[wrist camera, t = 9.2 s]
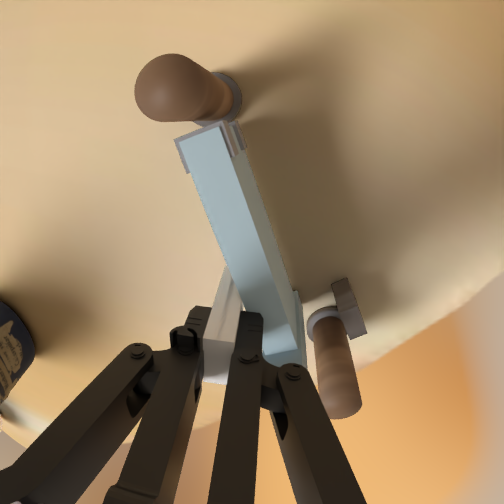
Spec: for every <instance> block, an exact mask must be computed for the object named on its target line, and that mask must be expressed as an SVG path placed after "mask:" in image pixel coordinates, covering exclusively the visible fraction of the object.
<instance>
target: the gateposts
mask: <svg viewBox="0 0 504 504" xmlns="http://www.w3.org/2000/svg"><path fill="white" fill-rule="evenodd" d="M135 99H136V103H137V105H138V107H139V109H140V110H141V111H142V113H143V114H145V115H146V116H147V117H149V118H150V119H152V120H155V121H160V122H177V121H193V122H195V123H196V124H198V125H200V126H203V127H206V126H208V125H211V124H214V123H216V122H219V121H222V120H227V122H228V123H229V122H230V121H232V120H233V119H234V118H235V117H236V115H237V114H238V112H239V110H240V108H241V104H242V95H241V91H240V89H239V87H238V85H237V84H236V83H235V82H234V81H233V80H232V79H231V78H230V77H228V76H226V75H224V74H221V73H214V72H212V73H211V72H209V71H208V70H206V69H205V68H203V67H202V66H200V65H199V64H197V63H195V62H194V61H192V60H191V59H189V58H187V57H186V56H183V55H179V54H165V55H161V56H159V57H156V58H155V59H153V60H151V61H150V62H149V63H148V64H147V65H145V67H144V68H143V69H142V70H141V72H140V73H139V75H138V77H137V80H136V84H135ZM331 285H332V289H333V292H334V296H335V300H336V304H337V308H335V307H325V308H321V309H319V310H317V311H315V312H314V313H313V314H312V315H311V316H310V317H309V319H308V321H307V334H308V337H309V338H310V339H311V340H312V341H313V342H314V350H315V359H316V369H317V379H318V389H319V396H320V399H321V401H322V403H323V405H324V408H325V410H326V412H327V414H328V417H329V419H343V418H347V417H350V416H352V415H354V414H355V413H356V412H358V411H359V410H360V408H361V406H362V400H361V396H360V391H359V387H358V382H357V377H356V373H355V368H354V364H353V360H352V355H351V351H350V347H349V343H348V339H347V334H348V336H349V338H350V340H352V339H354V338H357V337H359V336H362V335H364V334H367V331H366V328H365V325H364V322H363V319H362V316H361V313H360V311H359V308H358V305H357V302H356V300H355V297H354V294H353V292H352V289H351V286H350V284H349V281H348V279H347V278H345V279H343V280H341V281H338V282H336V283H333V284H331Z"/></svg>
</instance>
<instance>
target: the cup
mask: <svg viewBox="0 0 504 504" xmlns="http://www.w3.org/2000/svg"><path fill="white" fill-rule="evenodd" d="M2 424H3V423H2V418H1V414H0V433H1V430H2Z"/></svg>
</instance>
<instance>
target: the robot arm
mask: <svg viewBox="0 0 504 504" xmlns="http://www.w3.org/2000/svg"><path fill="white" fill-rule="evenodd" d="M243 307H244V304H243V302H242V300H241V297H240V295H239V292H238V290H237V288H236V285H235V283H234V280H233V278H232V276H231V273H230V271H229V268H228V266H225V268H224V272H223V275H222V278H221V281H220V284H219V287H218V290H217V294H216V297H215V300H214V303H213V306H212V308H210V307H202V306H195V307H194V308H193V309H192V310H190V312H189V315H188V317H187V320H186V322H185V325H184V326H179V327H176V328H174V329H172V330H171V332H170V343H171V348H170V349H167V350H162V351H152V349H151V348H150V346H148V345H146V344H143V343H134V344H130V345H129V346H127V347H126V348H125V349H124V350H123V351H122V352H121V353H120V354H119V355H118V356H117V357H116V358H115V359H114V360H113V361H112V362H111V363H110V364H109V365H108V366H107V367H106V368H105V369H104V370H103V371H102V372H101V373H100V374H99V375H98V376H97V377H96V378H95V379H94V380H93V381H92V382H91V383H90V384H89V385H88V386H87V387H86V388H85V389H84V390H83V391H82V392H81V393H80V394H79V395H78V396H77V397H76V398H75V399H74V400H73V401H72V402H71V404H70V405H69V406H68V407H67V408H66V409H65V410H64V411H63V412H62V413H61V414H60V415H59V416H58V417H57V418H56V419H55V420H54V421H53V422H52V423H51V424H50V425H49V426H48V427H47V429H46V430H45V431H44V432H43V433H42V434H41V435H40V436H39V437H38V438H37V439H36V440H35V441H34V442H33V443H32V444H31V445H30V446H29V448H28V449H27V450H26V451H25V452H24V453H23V454H22V455H21V456H20V457H19V458H18V460H16V461H15V463H14V464H13V465H12V466H10V467H8V468H5V469H3V470H1V471H0V504H75V503H76V502H77V500H78V499H79V498H80V496H81V495H82V494H83V493H84V491H85V490H86V489H87V488H88V486H89V485H90V484H91V482H92V481H93V480H94V479H95V477H96V476H97V475H98V474H99V472H100V471H101V470H102V468H103V467H104V466H105V464H106V463H107V462H108V461H109V459H110V458H111V457H112V455H113V454H114V453H115V451H116V450H117V449H118V448H119V446H120V445H121V444H122V442H123V441H124V440H125V438H126V437H127V436H128V435H129V433H130V432H131V431H132V429H133V428H134V427H135V425H136V424H137V423H138V421H139V420H140V419H141V417H142V416H143V417H142V419H141V422H140V424H139V427H138V429H137V432H136V435H135V437H134V440H133V442H132V445H131V448H130V450H129V453H128V456H127V458H126V461H125V464H124V466H123V469H122V472H121V474H120V477H119V480H118V482H117V483H116V484H115V485H113V486H111V487H110V488H109V489H108V491H107V493H106V496H105V498H104V501H103V504H173V502H174V498H175V494H176V490H177V486H178V482H179V478H180V474H181V470H182V466H183V462H184V458H185V454H186V450H187V446H188V442H189V438H190V434H191V430H192V426H193V422H194V418H195V414H196V411H197V407H198V403H199V399H200V395H201V391H202V379H203V382H210V383H216V384H223V385H226V391H225V398H224V404H223V410H222V416H221V423H220V428H219V434H218V440H217V447H216V453H215V459H214V465H213V471H212V477H211V483H210V490H209V496H208V502H207V504H254V496H255V482H256V467H257V451H258V434H259V418H260V407H262V408H264V409H267V410H270V415H271V419H272V422H273V426H274V429H275V432H276V436H277V439H278V443H279V446H280V449H281V453H282V456H283V459H284V463H285V466H286V469H287V473H288V476H289V479H290V482H291V486H292V489H293V492H294V495H295V498H296V502H297V504H367V503H366V501H365V499H364V496H363V494H362V492H361V489H360V487H359V485H358V483H357V480H356V478H355V476H354V473H353V471H352V469H351V467H350V464H349V462H348V460H347V458H346V455H345V453H344V451H343V448H342V446H341V444H340V442H339V439H338V437H337V435H336V432H335V430H334V428H333V426H332V423H331V421H330V419H329V417H328V414H327V412H326V410H325V408H324V405H323V403H322V401H321V399H320V396H319V394H318V392H317V390H316V387H315V385H314V383H313V381H312V378H311V376H310V374H309V372H308V370H307V369H306V368H305V367H303V366H302V365H300V364H296V363H287V364H284V365H282V366H281V367H278V366H275V365H272V364H270V363H269V362H267V361H266V360H265V359H264V358H263V355H262V341H263V324H264V319H263V317H262V315H261V314H260V313H257V312H248V311H243Z"/></svg>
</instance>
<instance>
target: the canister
mask: <svg viewBox="0 0 504 504" xmlns="http://www.w3.org/2000/svg"><path fill="white" fill-rule="evenodd" d="M34 357H35V348H34V344H33V341H32V339H31V336H30V334H29V332H28V330H27V329H26V327H25V326H24V324H23V323H22V321H21V320H20V318H19V317H18V316H17V315H16V314H15V313H14V312H13V311H12V310H11V309H10V308H9V307H8V306H7V305H6V304H4V303H3V302H1V301H0V404H1V403H2V402H3V401H4V400H5V399H6V398H7V397H8V395H9V393H10V391H11V390H12V388H13V387H14V386H15V385H16V383H17V382H18V380H19V379H20V378H21V376H22V375H23V374H24V373H25V371H26V370H27V369H28V367H29V366H30V365H31V364H32V362H33V360H34Z"/></svg>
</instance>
